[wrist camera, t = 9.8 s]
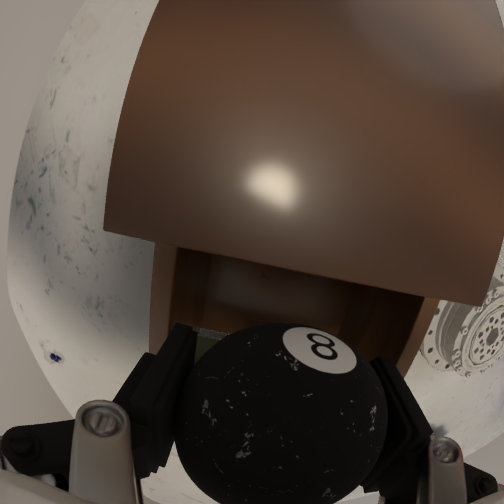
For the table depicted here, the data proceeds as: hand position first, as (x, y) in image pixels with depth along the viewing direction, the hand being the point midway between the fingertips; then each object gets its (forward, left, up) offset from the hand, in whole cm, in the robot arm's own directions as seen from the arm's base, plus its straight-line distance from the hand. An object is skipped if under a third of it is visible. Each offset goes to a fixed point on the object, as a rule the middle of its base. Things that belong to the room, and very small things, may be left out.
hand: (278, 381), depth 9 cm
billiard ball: (0, 0, -1) cm, 1 cm away
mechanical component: (+16, 0, -10) cm, 19 cm away
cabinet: (0, +11, -9) cm, 15 cm away
